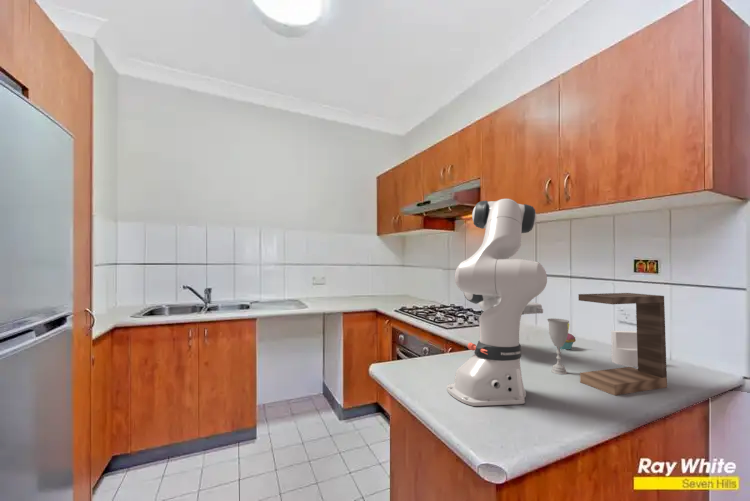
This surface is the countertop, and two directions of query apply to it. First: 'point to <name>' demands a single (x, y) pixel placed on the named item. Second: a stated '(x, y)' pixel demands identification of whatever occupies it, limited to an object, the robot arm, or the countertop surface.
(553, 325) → the chalice
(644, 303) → the wooden c-shaped stand
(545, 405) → the countertop surface
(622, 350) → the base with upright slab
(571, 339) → the cupcake
